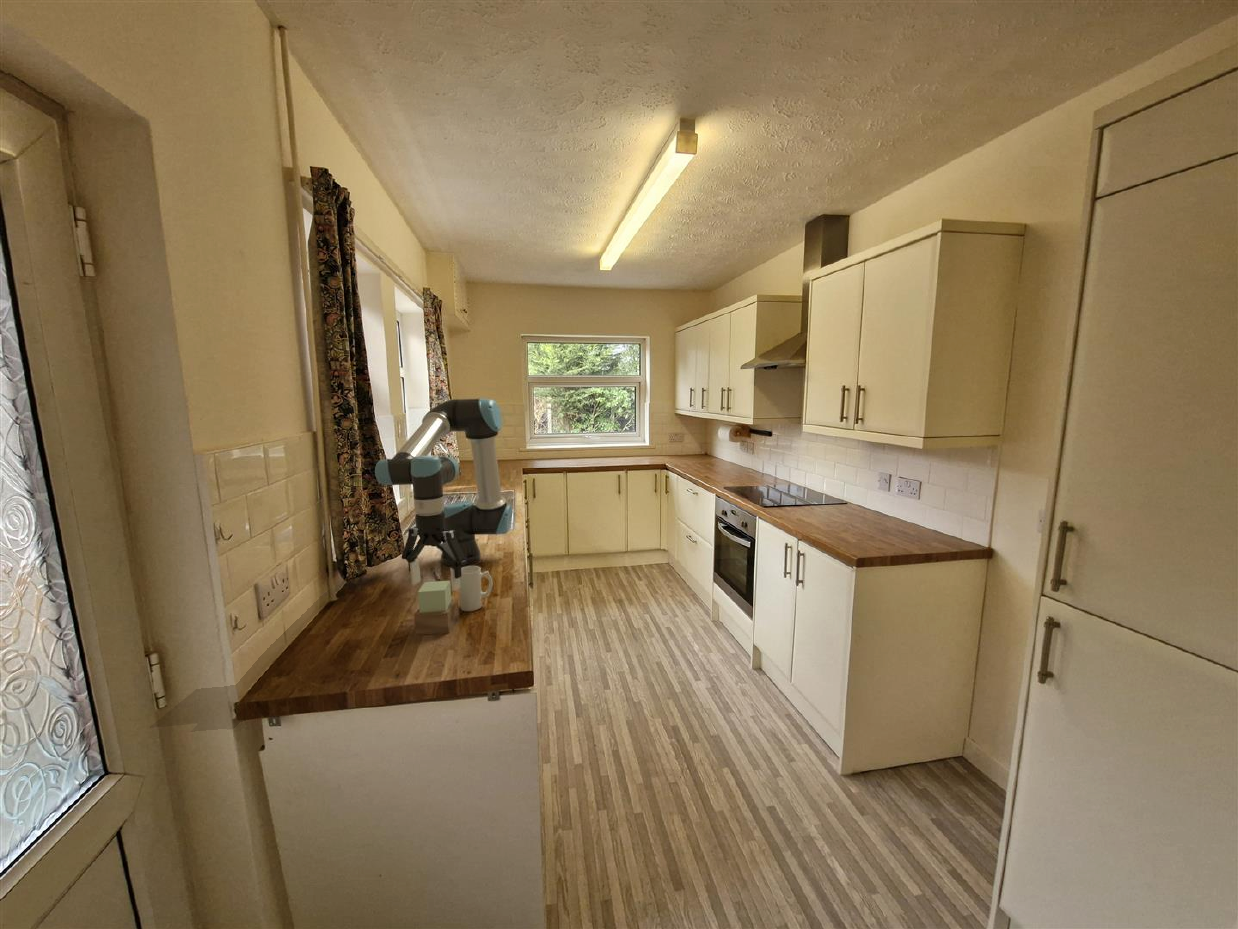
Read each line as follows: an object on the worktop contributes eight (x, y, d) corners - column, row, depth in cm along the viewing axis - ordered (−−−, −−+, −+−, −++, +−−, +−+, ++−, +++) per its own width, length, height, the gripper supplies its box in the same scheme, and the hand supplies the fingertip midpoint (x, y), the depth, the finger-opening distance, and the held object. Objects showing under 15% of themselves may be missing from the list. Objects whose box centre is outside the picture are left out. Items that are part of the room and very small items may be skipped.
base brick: (428, 619, 138) (426, 600, 137) (459, 619, 138) (457, 599, 137) (415, 635, 129) (414, 614, 128) (448, 634, 129) (447, 613, 128)
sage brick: (426, 602, 136) (424, 582, 135) (451, 600, 137) (450, 580, 136) (419, 613, 129) (417, 592, 128) (446, 611, 130) (444, 590, 129)
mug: (458, 613, 141) (456, 574, 140) (460, 603, 148) (458, 567, 146) (493, 609, 144) (491, 571, 142) (494, 600, 150) (492, 563, 149)
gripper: (383, 512, 130) (390, 586, 133) (459, 519, 122) (465, 596, 125) (403, 506, 137) (410, 576, 140) (476, 512, 129) (481, 585, 132)
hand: (436, 586), depth 133 cm, fingers open, 13 cm apart
